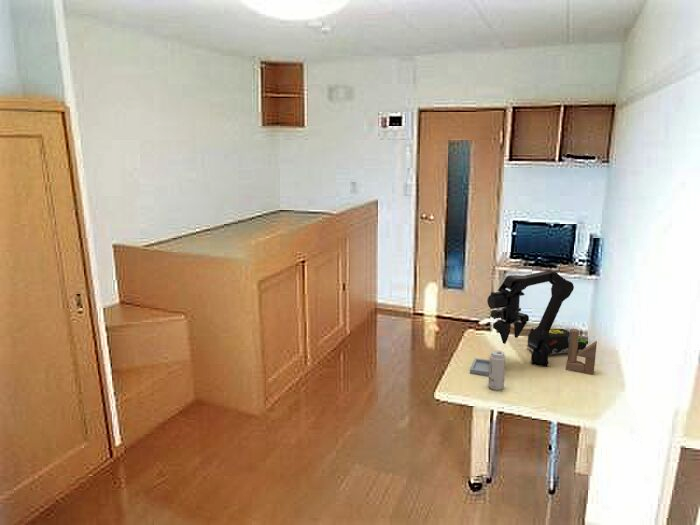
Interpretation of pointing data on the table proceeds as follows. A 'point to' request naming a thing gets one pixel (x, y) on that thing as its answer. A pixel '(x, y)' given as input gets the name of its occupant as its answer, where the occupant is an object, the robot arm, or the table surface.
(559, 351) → the toy van
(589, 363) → the brown angular piece
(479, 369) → the tray
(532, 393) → the table surface
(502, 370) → the energy drink can
